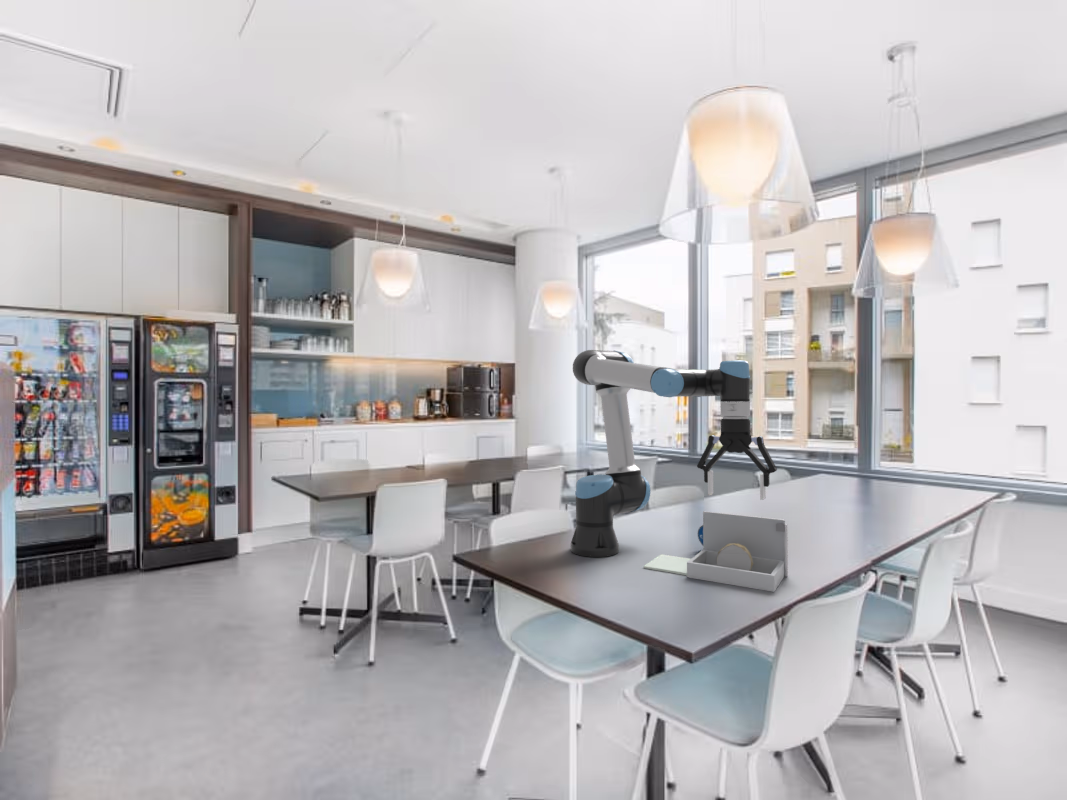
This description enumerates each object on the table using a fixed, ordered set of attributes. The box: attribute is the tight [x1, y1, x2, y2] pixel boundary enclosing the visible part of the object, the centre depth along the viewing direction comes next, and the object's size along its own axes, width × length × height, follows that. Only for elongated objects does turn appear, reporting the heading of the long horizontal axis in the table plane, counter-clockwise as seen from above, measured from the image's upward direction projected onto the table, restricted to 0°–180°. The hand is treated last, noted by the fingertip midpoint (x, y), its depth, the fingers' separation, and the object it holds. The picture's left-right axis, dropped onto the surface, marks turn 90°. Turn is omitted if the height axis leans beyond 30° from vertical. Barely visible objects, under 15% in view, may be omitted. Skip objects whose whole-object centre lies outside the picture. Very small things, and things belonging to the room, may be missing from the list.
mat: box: [643, 553, 706, 576], centre depth 164 cm, size 14×14×1 cm
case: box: [686, 510, 789, 593], centre depth 154 cm, size 23×16×15 cm
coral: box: [717, 543, 753, 571], centre depth 153 cm, size 10×10×10 cm
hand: (736, 496), depth 153 cm, fingers open, 13 cm apart
